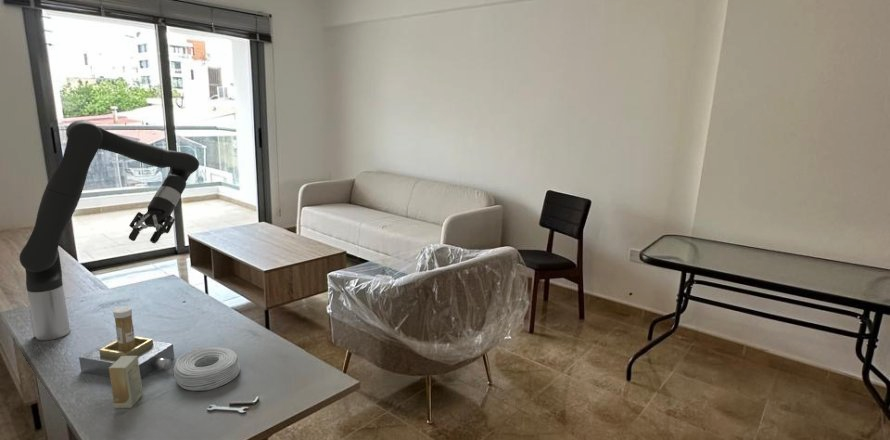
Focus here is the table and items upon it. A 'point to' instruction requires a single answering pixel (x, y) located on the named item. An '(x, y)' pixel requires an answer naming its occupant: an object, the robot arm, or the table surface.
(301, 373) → the table surface
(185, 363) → the cable
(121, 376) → the skincare box
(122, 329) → the sprinkles bottle
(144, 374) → the grey block with recess
